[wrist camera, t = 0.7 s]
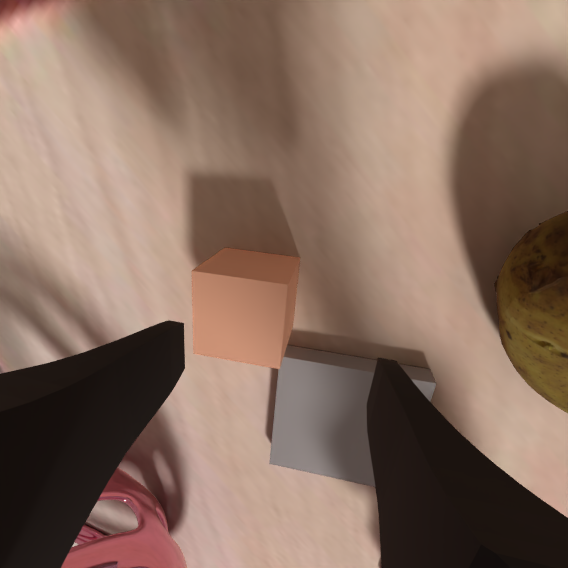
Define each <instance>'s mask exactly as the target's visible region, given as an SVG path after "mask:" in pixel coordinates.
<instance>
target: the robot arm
mask: <svg viewBox="0 0 568 568" xmlns="http://www.w3.org/2000/svg"><path fill="white" fill-rule="evenodd" d="M184 369H185V354H184V323H180V322H175V321H165V322H162V323H159V324H157V325H154V326H151V327H149V328H146V329H144V330H141V331H139V332H136V333H134V334H132V335H129V336H127V337H124V338H122V339H119V340H117V341H114V342H111V343H108V344H106V345H103V346H100V347H97V348H95V349H92V350H89V351H86V352H83V353H80V354H77V355H74V356H71V357H67V358H64V359H61V360H57V361H54V362H50V363H46V364H42V365H38V366H33V367H29V368H24V369H20V370H16V371H11V372H7V373H2V374H0V568H61V567H62V565H63V563H64V561H65V559H66V557H67V555H68V553H69V551H70V549H71V547H72V546H73V544H74V542H75V540H76V538H77V536H78V535H79V533H80V531H81V529H82V527H83V525H84V524H85V522H86V520H87V518H88V516H89V514H90V513H91V511H92V509H93V507H94V506H95V504H96V502H97V501H98V499H99V497H100V495H101V494H102V492H103V490H104V489H105V487H106V485H107V483H108V482H109V480H110V478H111V477H112V475H113V474H114V472H115V470H116V469H117V467H118V465H119V464H120V462H121V461H122V459H123V457H124V456H125V454H126V453H127V451H128V450H129V448H130V447H131V445H132V444H133V443H134V441H135V440H136V438H137V437H138V436H139V434H140V433H141V432H142V431H143V429H144V428H145V427H146V425H147V424H148V423H149V421H150V420H151V419H152V417H153V416H154V415H155V413H156V412H157V411H158V409H159V408H160V407H161V405H162V404H163V403H164V401H165V400H166V399H167V397H168V396H169V395H170V393H171V392H172V390H173V389H174V387H175V385H176V383H177V382H178V380H179V378H180V376H181V374H182V372H183V371H184ZM367 433H368V441H369V447H370V454H371V461H372V467H373V474H374V481H375V487H376V494H377V502H378V511H379V525H380V543H381V564H382V568H568V518H567V517H566V516H564V515H563V514H561V513H560V512H558V511H557V510H556V509H554V508H553V507H551V506H550V505H548V504H547V503H546V502H544V501H543V500H541V499H540V498H538V497H537V496H536V495H534V494H533V493H532V492H530V491H529V490H528V489H526V488H525V487H523V486H522V485H521V484H519V483H518V482H517V481H516V480H514V479H513V478H512V477H511V476H509V475H508V474H507V473H506V472H504V471H503V470H502V469H500V468H499V467H498V466H497V465H495V464H494V463H493V462H492V461H491V460H489V459H488V458H487V457H486V456H485V455H484V454H482V453H481V452H480V451H479V450H478V449H477V448H476V447H475V446H473V445H472V444H471V443H470V442H469V441H468V440H467V439H466V438H465V437H464V436H462V435H461V434H460V433H459V432H458V431H457V430H456V429H455V428H454V427H453V426H452V425H451V424H450V423H449V422H448V421H447V420H446V419H445V417H444V416H443V415H442V414H441V413H440V412H439V411H438V410H437V409H436V408H435V407H434V406H433V405H432V404H431V402H430V401H429V400H428V399H427V398H426V397H425V395H424V394H423V393H422V392H421V391H420V390H419V388H418V387H417V386H416V385H415V384H414V382H413V381H412V380H411V379H410V377H409V376H408V375H407V374H406V372H405V371H404V370H403V369H402V367H401V366H400V365H399V364H398V363H397V361H394V360H388V359H382V358H378V360H377V364H376V368H375V372H374V376H373V380H372V384H371V388H370V392H369V396H368V400H367Z"/></svg>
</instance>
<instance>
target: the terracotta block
mask: <svg viewBox="0 0 568 568" xmlns="http://www.w3.org/2000/svg"><path fill="white" fill-rule="evenodd" d="M299 266H300V257H292V256H285V255H277V254H270V253H262V252H255V251H247V250H240V249H232V248H224V249H222V250H221V251H219V252H218V253H216V254H215V255H214V256H212V257H211V258H209V259H208V260H206V261H205V262H204V263H202V264H201V265H199V266H198V267H196V268H195V269H194V270H192V306H193V350H194V354H199V355H204V356H210V357H215V358H221V359H226V360H232V361H237V362H243V363H248V364H254V365H259V366H265V367H270V368H276V369H280V367H281V363H282V360H283V357H284V354H285V350H286V347H287V344H288V341H289V337H290V334H291V331H292V328H293V320H294V311H295V302H296V293H297V284H298V275H299Z"/></svg>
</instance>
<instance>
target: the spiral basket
mask: <svg viewBox="0 0 568 568" xmlns="http://www.w3.org/2000/svg"><path fill="white" fill-rule="evenodd" d="M100 500H118V501H122V502H124V503H126V504H127V505H128V506H129V507H130V508H131V509H132V510H133V512H134V513H135V515H136V517H137V521H138V527H137V528H136V529H134V530H131V531H128V532H123V533H117V534H113V535H109V536H106V535H104V534H103V533H101V532H99V531H97V530H95V529H93V528H91V527H89V526H86V525H83V527H82V529H81V531H80V533H79V535H78V536H77V538H76V540H75V543H77V544H79V545H77V546H74V547H71V549H70V551H69V553H68V555H67V557H66V559H65V561H64V563H63V565H62V567H61V568H187V565H186V561H185V558H184V555H183V553H182V550H181V549H180V547H179V545H178V544H177V543H176V542H175V541H174V539H173V538H172V537H171V536H170V535H169V533H168V523H167V518H166V515H165V513H164V510H163V508H162V506H161V505H160V503H159V502H158V500H157V499H156V498H155V496H154V495H153V494H152V493H151V492H150V491H149V490H148V489H147V488H145V487H144V486H143V485H142V484H141V483H139V482H138V481H137V480H135V479H134V478H133V477H132V476H130V475H129V474H127V473H126V472H125V471H123V470H122V469H120V468H118V467H117V469H116V470H115V472H114V474H113V475H112V477H111V478H110V480H109V482H108V483H107V485H106V487H105V489H104V490H103V492H102V494H101V495H100V497H99V499H98V501H100Z"/></svg>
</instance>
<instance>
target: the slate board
mask: <svg viewBox="0 0 568 568" xmlns="http://www.w3.org/2000/svg"><path fill="white" fill-rule="evenodd" d="M376 364H377V360H373V359H367V358H361V357H355V356H349V355H343V354H338V353H332V352H326V351H320V350H314V349H308V348H302V347H296V346H290V345H287V347H286V350H285V354H284V357H283V360H282V363H281V367H280V369H279V370H278V381H277V391H276V401H275V412H274V422H273V432H272V443H271V453H270V463H269V464H273V465H278V466H282V467H287V468H291V469H296V470H300V471H305V472H309V473H314V474H318V475H323V476H327V477H332V478H337V479H341V480H346V481H350V482H355V483H359V484H364V485H368V486H373V487H375V481H374V474H373V467H372V461H371V454H370V447H369V441H368V433H367V400H368V396H369V392H370V388H371V384H372V380H373V376H374V372H375V368H376ZM399 365H400V366H401V367H402V369H403V370H404V371H405V372H406V374H407V375H408V376H409V377H410V379H411V380H412V381H413V382H414V384H415V385H416V386H417V387H418V388H419V390H420V391H421V392H422V393H423V394H424V395H425V397H426V398H427V399H428V400H429V401H430V402H431V399H432V395H433V392H434V389H435V386H436V382H435V379H434V377H433V375H432V372H431V370H430V369H426V368H420V367H414V366H408V365H402V364H399Z"/></svg>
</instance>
